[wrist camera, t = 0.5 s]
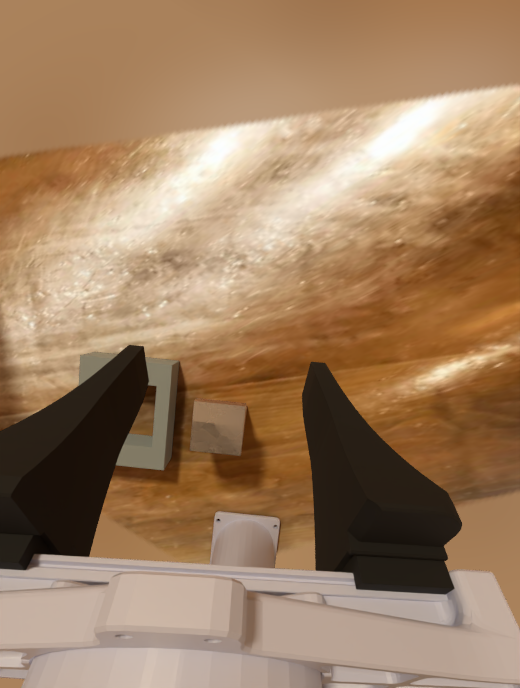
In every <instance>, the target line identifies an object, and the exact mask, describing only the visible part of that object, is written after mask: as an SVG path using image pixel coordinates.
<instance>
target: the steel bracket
mask: <svg viewBox="0 0 520 688" xmlns="http://www.w3.org/2000/svg"><path fill="white" fill-rule="evenodd" d="M246 412H247V406H246V403H237V402H227V401H218V400H209V399H200V398H196V399H195V401H194V410H193V421H192V433H191V444H190V451H200V452H209V453H218V454H228V455H237V456H241V450H242V443H243V437H244V430H245V421H246Z"/></svg>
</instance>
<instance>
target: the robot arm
mask: <svg viewBox="0 0 520 688" xmlns="http://www.w3.org/2000/svg"><path fill="white" fill-rule="evenodd" d="M148 383H149V377H148V371H147V365H146V359H145V352H144V346H134V345H129V346H127V347H126V348H125V349H124V350H122V351H121V352H120V353H119V354H118V355H117V356H115V357H114V358H113V359H112V360H111V361H109V362H108V363H107V364H106V365H105V366H103V367H102V368H101V369H100V370H99V371H97V372H96V373H95V374H94V375H92V376H91V377H90V378H89V379H87V380H86V381H85V382H83V383H82V384H80V385H79V386H78V387H76V388H75V389H74V390H72V391H71V392H69V393H68V394H66V395H65V396H63V397H62V398H60V399H59V400H57V401H56V402H54V403H52V404H51V405H49V406H47V407H46V408H44V409H42V410H40V411H39V412H37V413H35V414H33V415H31V416H29V417H28V418H26V419H24V420H22V421H20V422H18V423H16V424H14V425H12V426H10V427H8V428H6V429H4V430H2V431H0V677H2V678H14V679H25V680H24V682H23V685H22V687H21V688H520V629H519V627H518V625H517V622H516V620H515V618H514V616H513V614H512V612H511V610H510V608H509V605H508V603H507V601H506V599H505V597H504V595H503V593H502V591H501V589H500V587H499V584H498V582H497V580H496V578H495V576H494V574H493V573H491V572H490V571H478V570H452V571H449V572H448V570H447V567H446V564H445V562H444V561H446V560H447V559H448V557H447V554H446V551H445V548H444V545H445V544H446V543H447V542H449V541H450V540H451V539H452V538H453V537H455V536H456V535H457V533H458V532H459V531H460V530H461V527H462V522H461V520H460V518H459V515H458V513H457V511H456V508H455V506H454V504H453V502H452V500H451V499H450V497H449V495H448V493H447V492H446V491H445V490H443V489H442V488H440V487H439V486H438V485H436V484H435V483H434V482H432V481H431V480H429V479H428V478H427V477H425V476H424V475H423V474H421V473H420V472H419V471H418V470H416V469H415V468H414V467H413V466H411V465H410V464H409V463H408V462H406V461H405V460H404V459H403V458H402V457H401V456H400V455H398V454H397V453H396V452H395V451H394V450H393V449H392V448H391V447H390V446H389V445H388V444H387V443H385V442H384V441H383V440H382V439H381V438H380V437H379V436H378V434H377V433H376V432H375V431H374V430H373V429H372V428H371V427H370V426H369V425H368V424H367V422H366V421H365V420H364V419H363V418H362V416H361V415H360V414H359V413H358V411H357V410H356V409H355V407H354V406H353V405H352V403H351V402H350V401H349V399H348V398H347V396H346V395H345V393H344V392H343V391H342V389H341V388H340V386H339V385H338V383H337V381H336V380H335V378H334V377H333V375H332V373H331V372H330V370H329V368H328V367H327V365H326V364H325V363H318V362H311V364H310V367H309V371H308V375H307V378H306V382H305V386H304V390H303V393H302V403H303V418H304V425H305V431H306V437H307V443H308V449H309V455H310V461H311V469H312V481H313V498H314V520H315V553H316V554H315V559H316V571H313V570H296V569H278V568H275V560H276V552H277V543H278V535H279V527H280V520H279V519H278V518H276V517H267V516H258V515H249V514H239V513H230V512H220V511H218V512H216V513H215V518H214V528H213V538H212V548H211V558H210V564H197V563H180V562H164V561H146V560H129V559H113V558H97V557H89V555H90V551H91V547H92V543H93V539H94V535H95V532H96V528H97V524H98V521H99V517H100V514H101V510H102V507H103V503H104V500H105V497H106V493H107V490H108V487H109V484H110V481H111V478H112V475H113V472H114V469H115V466H116V463H117V460H118V457H119V454H120V452H121V449H122V447H123V445H124V442H125V440H126V438H127V436H128V434H129V431H130V429H131V427H132V425H133V423H134V420H135V418H136V416H137V414H138V412H139V409H140V407H141V405H142V403H143V400H144V396H145V393H146V390H147V386H148ZM217 519H220V521H218V520H217ZM274 525H277V526H276V527H274Z"/></svg>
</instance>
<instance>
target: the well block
mask: <svg viewBox="0 0 520 688" xmlns="http://www.w3.org/2000/svg"><path fill="white" fill-rule="evenodd" d="M117 355H118V354H110V353H101V352H92V353H88V354H83V355H80V371H79V385H80V384H82V383H83V382H85V381H86V380H87V379H89V378H90V377H91V376H92V375H94V374H95V373H96V372H97V371H99V370H100V369H101V368H102V367H103V366H105V365H106V364H107V363H108V362H109V361H111V360H112V359H113V358H114V357H115V356H117ZM145 359H146V365H147V371H148V377H149V383H148V385H151V386H157V388H156V401H155V414H154V427H153V436H146V435H137V434H128V436H127V438H126V440H125V442H124V445H123V447H122V449H121V452H120V454H119V457H118V460H117V463H116V465H118V466H128V467H137V468H146V469H156V470H164V469H165V467H166V466H167V464H168V463H169V461H170V459H171V456H172V444H173V432H174V420H175V408H176V396H177V384H178V372H179V361H175V360H166V359H157V358H147V357H145Z"/></svg>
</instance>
